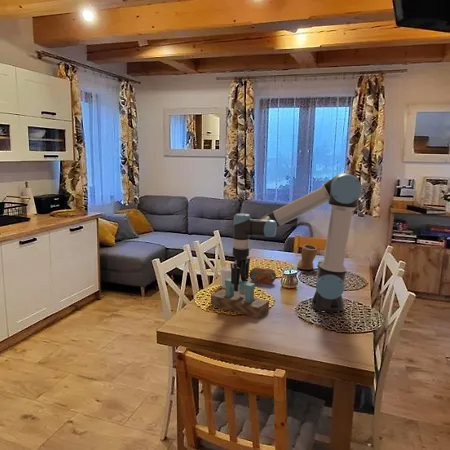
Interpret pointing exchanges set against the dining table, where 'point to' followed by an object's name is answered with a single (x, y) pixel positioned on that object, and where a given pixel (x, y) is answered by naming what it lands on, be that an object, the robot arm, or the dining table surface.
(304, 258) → the stone cup
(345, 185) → the robot arm
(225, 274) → the white cup
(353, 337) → the dining table surface
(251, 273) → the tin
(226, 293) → the clip
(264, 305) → the wooden socket block
